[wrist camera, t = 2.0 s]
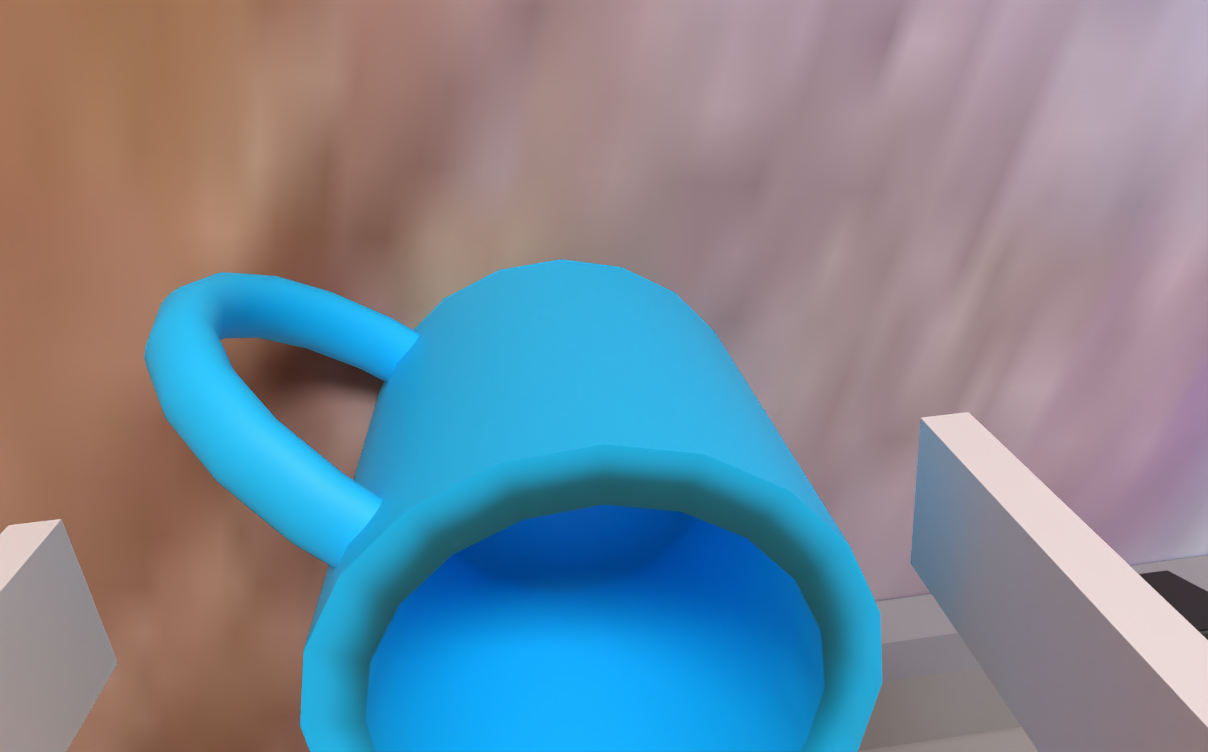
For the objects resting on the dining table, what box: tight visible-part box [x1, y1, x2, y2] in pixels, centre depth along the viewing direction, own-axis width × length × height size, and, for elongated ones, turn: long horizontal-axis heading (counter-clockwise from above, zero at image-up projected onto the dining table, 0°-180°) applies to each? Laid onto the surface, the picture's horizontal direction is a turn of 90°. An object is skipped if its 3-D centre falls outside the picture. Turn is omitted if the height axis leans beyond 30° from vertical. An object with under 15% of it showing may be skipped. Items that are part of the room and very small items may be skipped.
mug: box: [145, 259, 882, 752], centre depth 16 cm, size 12×8×8 cm
